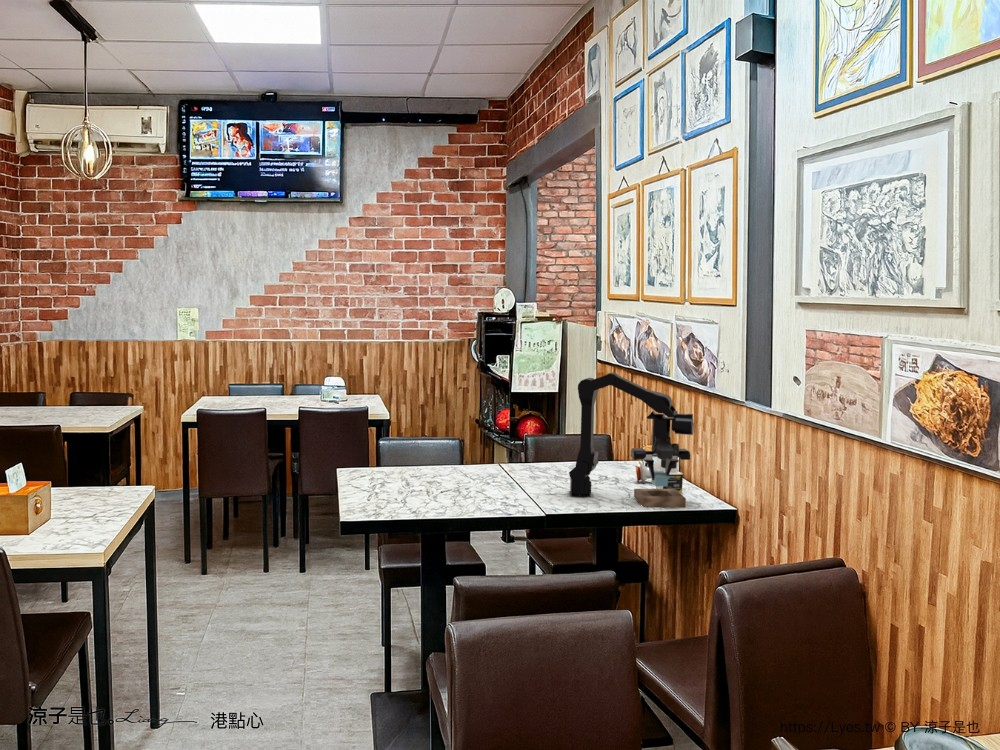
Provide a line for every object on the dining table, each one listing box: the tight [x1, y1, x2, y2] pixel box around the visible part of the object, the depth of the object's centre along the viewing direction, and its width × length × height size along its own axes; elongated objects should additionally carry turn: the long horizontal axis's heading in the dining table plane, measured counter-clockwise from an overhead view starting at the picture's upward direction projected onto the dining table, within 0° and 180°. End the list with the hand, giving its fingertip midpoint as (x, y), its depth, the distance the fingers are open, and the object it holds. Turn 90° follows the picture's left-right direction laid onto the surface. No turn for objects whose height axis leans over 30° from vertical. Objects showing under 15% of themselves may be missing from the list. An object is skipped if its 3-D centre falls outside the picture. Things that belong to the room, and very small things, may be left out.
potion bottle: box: [635, 458, 679, 483], centre depth 332 cm, size 9×10×15 cm
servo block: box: [650, 470, 670, 487], centre depth 301 cm, size 4×11×4 cm, turn 3°
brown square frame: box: [633, 488, 687, 508], centre depth 301 cm, size 14×14×3 cm
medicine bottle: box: [655, 459, 684, 495], centre depth 317 cm, size 7×7×12 cm
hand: (659, 479), depth 301 cm, fingers closed on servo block, 4 cm apart
